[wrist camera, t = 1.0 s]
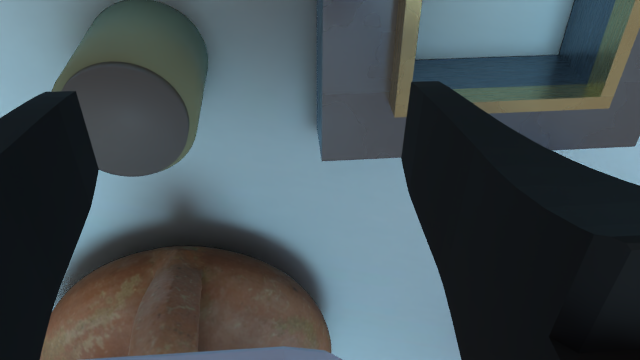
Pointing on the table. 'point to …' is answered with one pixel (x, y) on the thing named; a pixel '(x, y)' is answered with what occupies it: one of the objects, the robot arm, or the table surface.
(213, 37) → the table surface
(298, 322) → the ceramic jug
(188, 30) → the oil can
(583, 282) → the robot arm
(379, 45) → the grey square base
